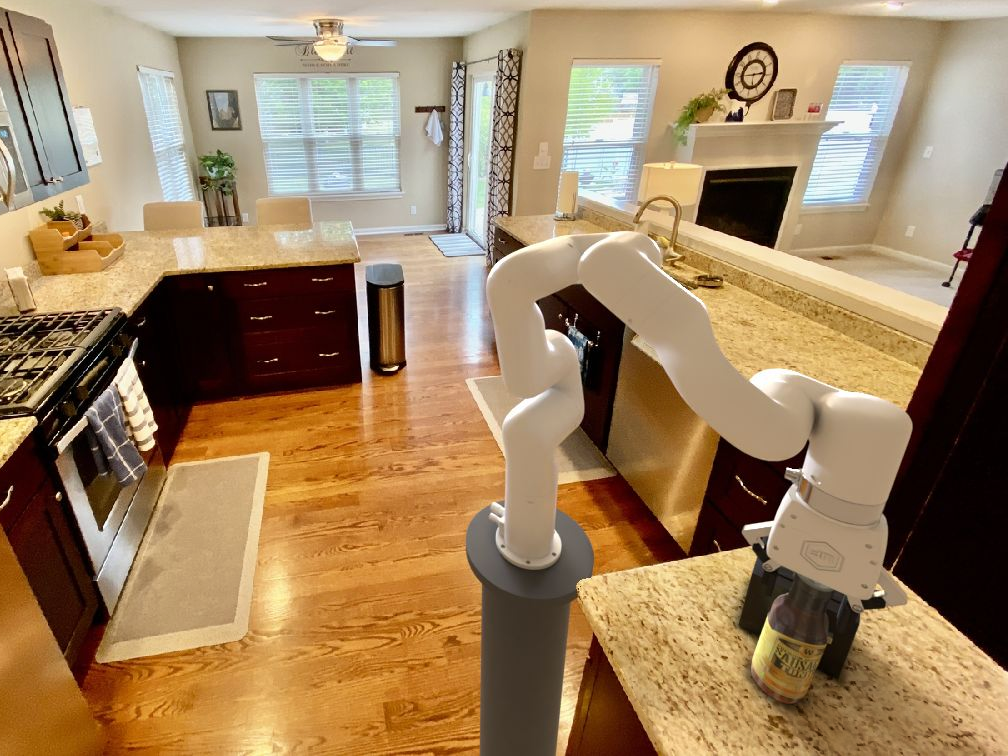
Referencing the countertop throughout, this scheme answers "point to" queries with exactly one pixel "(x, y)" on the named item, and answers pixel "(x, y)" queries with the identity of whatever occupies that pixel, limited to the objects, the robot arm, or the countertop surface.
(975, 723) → the countertop surface
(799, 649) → the sauce bottle
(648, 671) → the countertop surface
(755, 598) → the toaster
